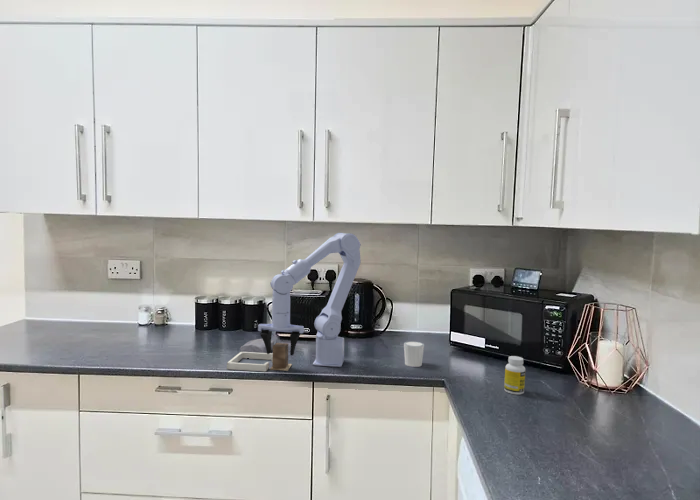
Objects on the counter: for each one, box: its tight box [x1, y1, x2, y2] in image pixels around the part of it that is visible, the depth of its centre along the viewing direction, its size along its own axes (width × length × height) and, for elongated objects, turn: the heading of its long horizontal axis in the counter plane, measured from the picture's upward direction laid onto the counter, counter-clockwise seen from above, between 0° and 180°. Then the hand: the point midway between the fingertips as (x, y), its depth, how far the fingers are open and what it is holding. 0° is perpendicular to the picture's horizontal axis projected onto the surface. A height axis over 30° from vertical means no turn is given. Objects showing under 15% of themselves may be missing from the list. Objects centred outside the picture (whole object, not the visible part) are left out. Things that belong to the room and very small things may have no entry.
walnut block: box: [271, 342, 289, 369], centre depth 145 cm, size 4×4×7 cm
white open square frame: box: [226, 351, 273, 373], centre depth 147 cm, size 13×13×2 cm
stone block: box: [239, 338, 275, 353], centre depth 162 cm, size 12×5×10 cm
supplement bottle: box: [503, 355, 526, 395], centre depth 128 cm, size 5×5×10 cm
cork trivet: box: [269, 363, 293, 372], centre depth 145 cm, size 6×6×1 cm
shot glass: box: [403, 341, 425, 368], centre depth 151 cm, size 7×7×7 cm
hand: (280, 353), depth 145 cm, fingers open, 7 cm apart
